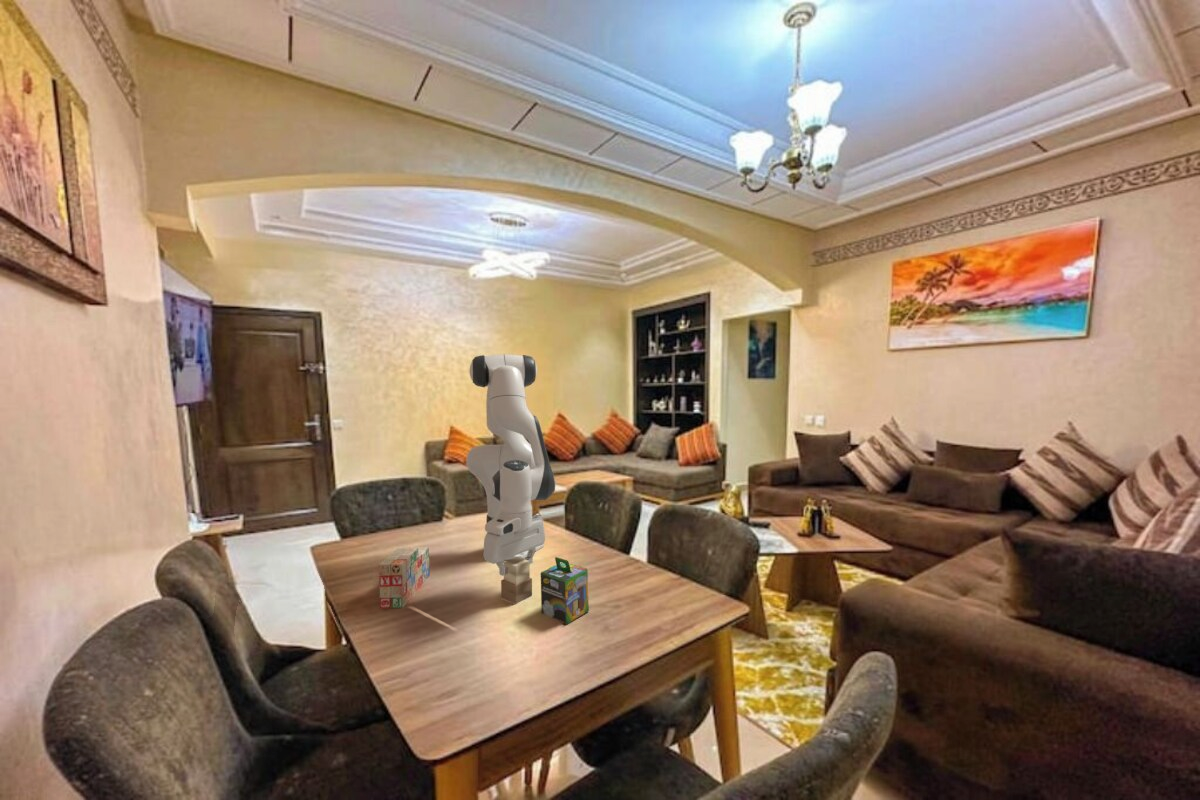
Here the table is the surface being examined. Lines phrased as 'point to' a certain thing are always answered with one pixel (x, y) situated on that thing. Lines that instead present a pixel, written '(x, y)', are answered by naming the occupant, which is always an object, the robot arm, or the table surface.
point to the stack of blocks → (402, 575)
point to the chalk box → (564, 591)
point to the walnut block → (516, 590)
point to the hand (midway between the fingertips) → (516, 568)
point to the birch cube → (517, 570)
